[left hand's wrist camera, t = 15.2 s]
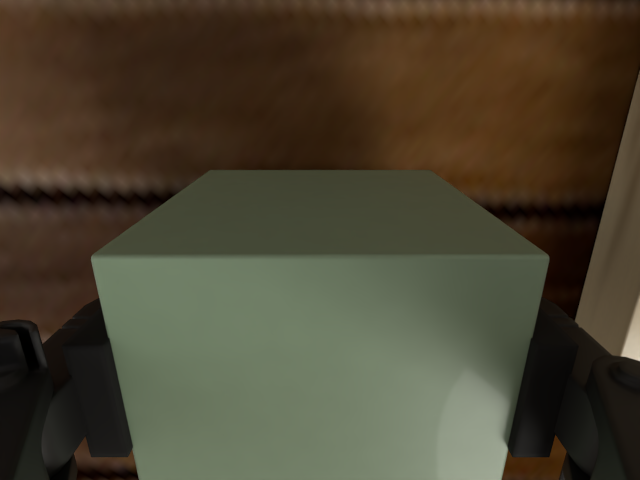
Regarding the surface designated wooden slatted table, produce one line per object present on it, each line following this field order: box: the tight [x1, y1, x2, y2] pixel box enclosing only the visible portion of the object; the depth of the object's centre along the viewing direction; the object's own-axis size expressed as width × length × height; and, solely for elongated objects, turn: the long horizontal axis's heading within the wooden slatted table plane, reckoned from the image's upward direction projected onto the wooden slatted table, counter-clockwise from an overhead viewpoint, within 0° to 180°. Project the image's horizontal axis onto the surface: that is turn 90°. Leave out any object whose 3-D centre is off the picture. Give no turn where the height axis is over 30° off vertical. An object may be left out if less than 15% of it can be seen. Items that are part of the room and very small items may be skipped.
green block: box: [91, 170, 549, 480], centre depth 12 cm, size 8×6×8 cm
